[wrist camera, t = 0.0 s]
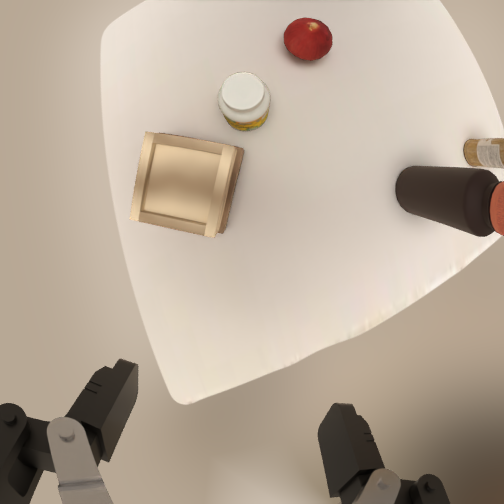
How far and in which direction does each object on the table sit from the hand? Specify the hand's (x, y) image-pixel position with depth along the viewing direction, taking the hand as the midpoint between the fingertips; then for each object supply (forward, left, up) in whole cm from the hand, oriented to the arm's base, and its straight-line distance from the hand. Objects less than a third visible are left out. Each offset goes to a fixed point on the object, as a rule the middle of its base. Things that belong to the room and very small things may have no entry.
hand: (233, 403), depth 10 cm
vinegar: (-13, +21, -28) cm, 37 cm away
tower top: (-6, -8, -24) cm, 26 cm away
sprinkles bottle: (-23, +31, -28) cm, 48 cm away
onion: (-27, +1, -28) cm, 39 cm away
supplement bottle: (-16, -4, -28) cm, 32 cm away
